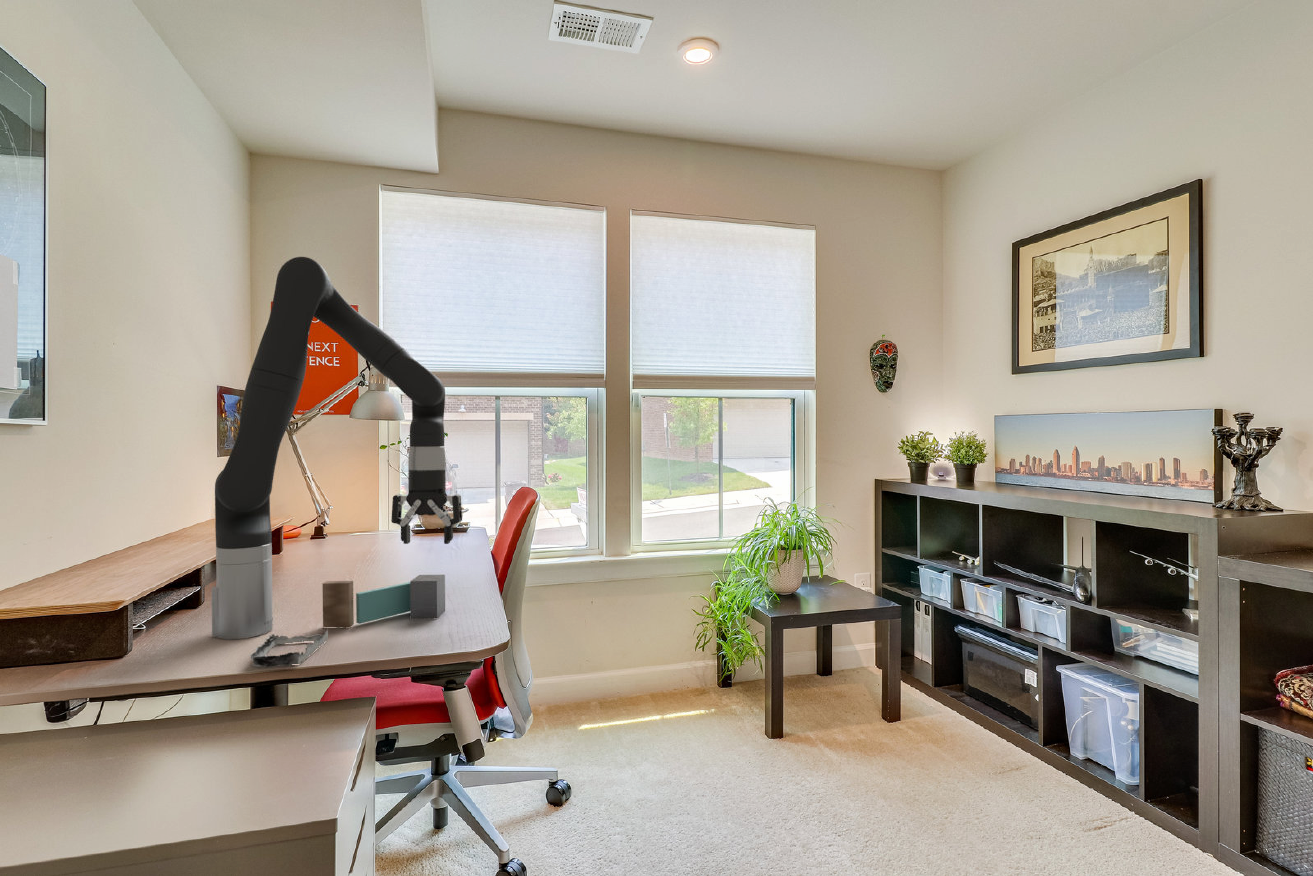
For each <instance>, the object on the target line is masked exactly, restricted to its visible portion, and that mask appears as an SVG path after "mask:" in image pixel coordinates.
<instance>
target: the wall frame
mask: <svg viewBox="0 0 1313 876" xmlns="http://www.w3.org/2000/svg"><path fill="white" fill-rule="evenodd" d="M354 608H355V607H354V580H327V581H325V582H323V583H322V628H323V627H350V628H351V626H352V625H353V624H354V625H355V623H354V622H355V619H354V613H355V610H354ZM354 625H353V626H354ZM353 626H352V627H353Z"/></svg>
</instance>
